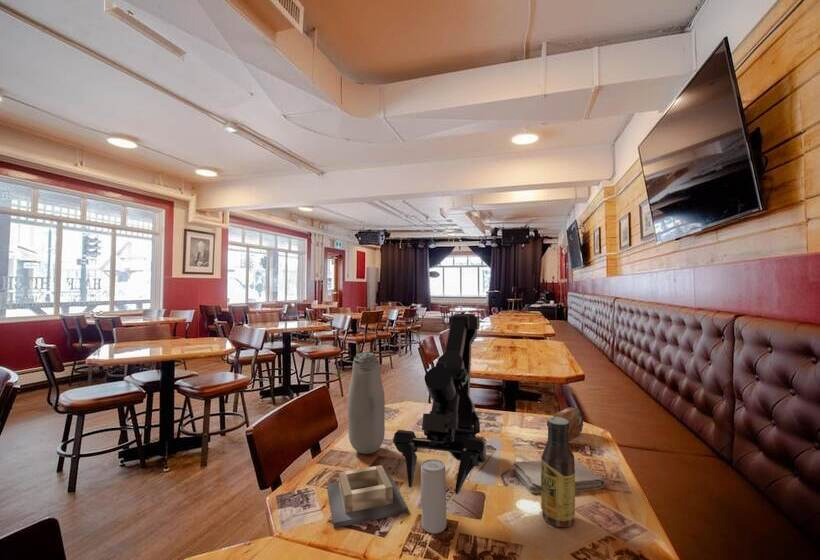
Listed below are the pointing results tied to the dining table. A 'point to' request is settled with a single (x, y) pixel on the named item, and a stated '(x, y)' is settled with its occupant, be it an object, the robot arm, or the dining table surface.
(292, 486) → the dining table surface
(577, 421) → the brown rounded slab
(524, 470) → the washcloth
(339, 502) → the can collar
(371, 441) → the grey bottle
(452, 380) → the robot arm
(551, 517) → the sauce bottle
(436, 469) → the beverage can
